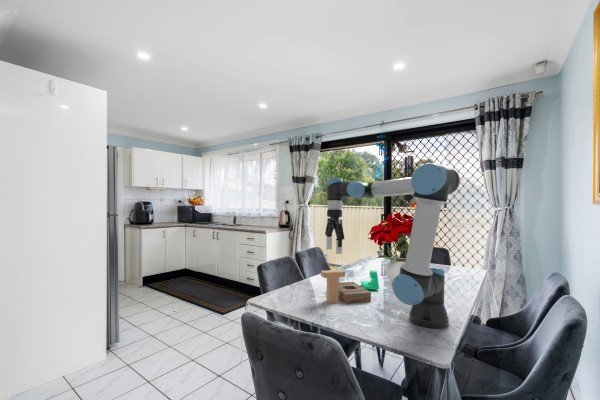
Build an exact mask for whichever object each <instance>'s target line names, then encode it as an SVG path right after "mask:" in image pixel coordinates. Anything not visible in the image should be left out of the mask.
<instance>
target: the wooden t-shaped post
mask: <svg viewBox="0 0 600 400" xmlns="http://www.w3.org/2000/svg"><path fill="white" fill-rule="evenodd" d="M320 276H321V277H322V278H324V279H326V301H327V302H328V303H329V304H338V303H339V298H338V296H339V283H340V278H345V277H346V271H344V270H343V269H331V270H330V269H329V270H320Z"/></svg>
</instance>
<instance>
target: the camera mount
mask: <svg viewBox="0 0 600 400" xmlns="http://www.w3.org/2000/svg"><path fill="white" fill-rule="evenodd" d="M369 278H370V280H361V281H360V283H361V287H363V288H364V289H366V290H379V289H380V284H379V277H378V271H377V270H369Z"/></svg>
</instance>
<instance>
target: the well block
mask: <svg viewBox="0 0 600 400" xmlns="http://www.w3.org/2000/svg"><path fill="white" fill-rule="evenodd" d="M338 300H339V301H341V302H342V303H344V304H355V303H356V304H357V303H368V302H372V292H371V291H369V289H364V288H363V287H362V285H360V284H358V283H356V282H354V281H345V282H343V281H342V282H339V296H338Z"/></svg>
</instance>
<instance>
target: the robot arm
mask: <svg viewBox="0 0 600 400" xmlns="http://www.w3.org/2000/svg"><path fill="white" fill-rule="evenodd" d="M460 184H461V178H460V175H459V173H458V172H457V170H455V169H454V168H453V167H452V166H451V167H450V166H446V165H443V164H440V163H435V162H427V163H423V164H421V165H419V166H418V167H416V168H415V170H413V172H412V175H411V176H410V177H404V178H403V177H402V178H397V179H396V178H395V179H387V180H381V181H373V182H362V181H360V180H352V181H344V180H343V178H340V177H339V178H338V177H330V178H328V179H327V186H326V188H327V189H326V190H327V193H326V194H327V195H326V196H327V199H326V208H327V211H326V217H327V218H326V219H327V220H326V228H325V233H324V235H325V236H326V250H333V249H332V248H333V232H334V233H335V236H336V239H335V243H336V244H335V254H336V255H341V254H343V240H345V234H344V228H343V219H341V218H342V217H343V210H342V208H343V204H344V203H343V198H361V199H374V198H380V197H382V198H383V197H393V196H405V195H412V197H413V199H414V200H415V201H416V204H415V210H414V215H413V220H412V227H411V232H410V236H409V241H408V248H407V254H406V259H405V262H403V263H401V264H400V268H399V274H398V275H396V276H395V277H394V279H393V281H392V285H391V286H392V287H391V288H392V291H393V294H394V295H395V297H396V298H397V299H398V300H399V302H401V303H403V304H404V305H407V306H411V307H410V308H411V309H410V310H409V314H408V316H409V320H410V321H411V322H412V323H414V324H416V325H419V326H421V327H425V328H430V329H444V327H445V328H447V327H448V326H449V324H450V322H449V319H450V318H449V316H448V313H447V309H446V307H445V285H446V284H445V279H446V275H445V270H444V269H443V268H441V267H437V266H433V265H431V260H432V255H433V250H434V245H435V240H436V236H437V235H436V234H437V229H438V224H439V219H440V215H441V208H442V206H443V205H445V204H447V202H448V198H449V197H448V196H449V195H451V194H453V193H454V192H456V191H457V190H458V188H459V186H460ZM446 326H447V327H446Z"/></svg>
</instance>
